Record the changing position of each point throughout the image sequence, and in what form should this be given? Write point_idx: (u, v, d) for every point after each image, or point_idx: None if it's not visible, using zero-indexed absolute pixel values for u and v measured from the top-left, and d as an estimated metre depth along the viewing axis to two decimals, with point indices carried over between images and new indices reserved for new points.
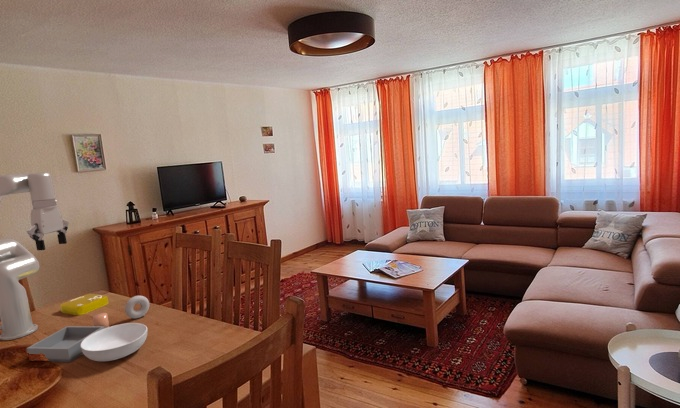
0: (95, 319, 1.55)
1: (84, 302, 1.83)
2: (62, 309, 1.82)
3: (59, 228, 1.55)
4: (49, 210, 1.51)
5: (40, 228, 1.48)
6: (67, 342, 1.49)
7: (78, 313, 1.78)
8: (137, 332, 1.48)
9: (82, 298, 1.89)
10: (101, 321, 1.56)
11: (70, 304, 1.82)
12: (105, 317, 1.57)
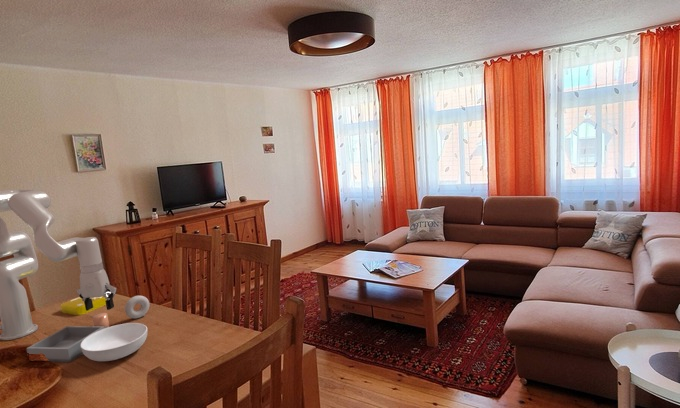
0: (95, 319, 1.55)
1: None
2: (62, 309, 1.82)
3: None
4: None
5: None
6: (67, 342, 1.49)
7: (78, 313, 1.78)
8: (137, 332, 1.48)
9: None
10: (101, 321, 1.56)
11: (70, 304, 1.82)
12: (105, 317, 1.57)
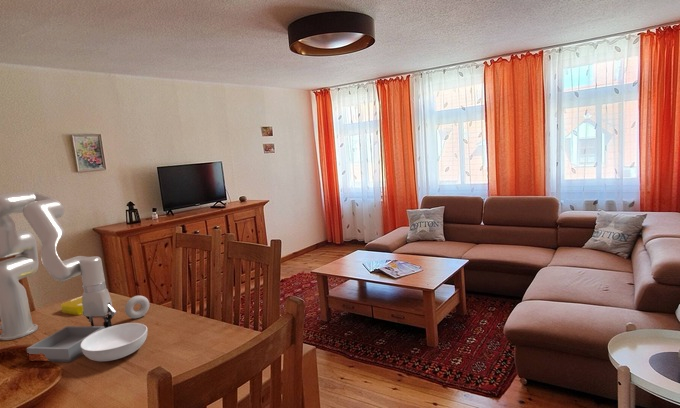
0: (95, 319, 1.55)
1: None
2: (63, 309, 1.83)
3: None
4: None
5: None
6: (67, 342, 1.49)
7: (78, 313, 1.78)
8: (137, 332, 1.48)
9: None
10: (101, 321, 1.56)
11: (70, 304, 1.82)
12: None
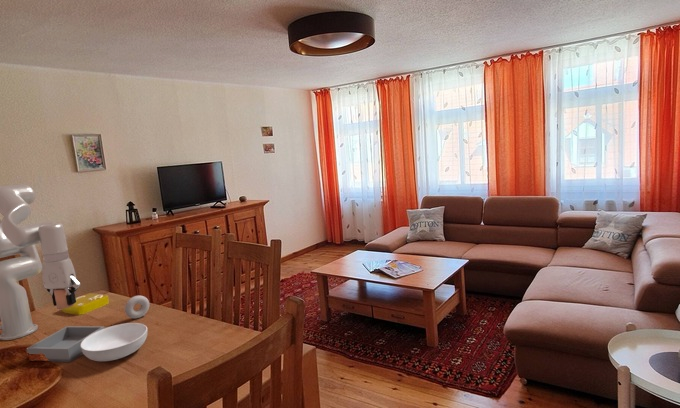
0: (57, 292, 1.41)
1: (85, 301, 1.84)
2: None
3: None
4: None
5: (75, 277, 1.44)
6: (67, 342, 1.49)
7: (78, 312, 1.79)
8: (137, 332, 1.48)
9: (83, 297, 1.90)
10: (63, 294, 1.42)
11: None
12: None
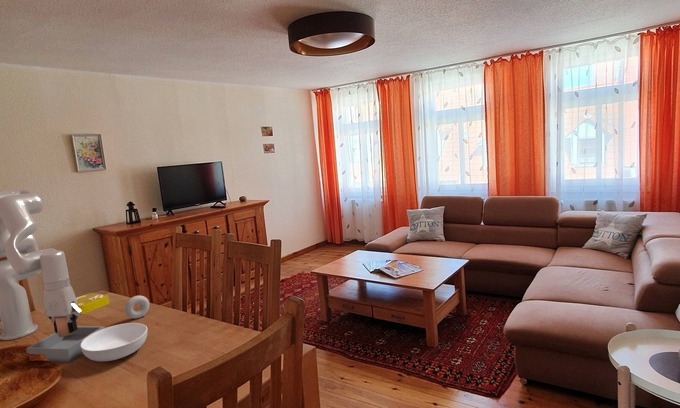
0: (58, 320, 1.41)
1: (85, 301, 1.84)
2: None
3: None
4: None
5: (77, 305, 1.44)
6: (67, 342, 1.49)
7: None
8: (137, 332, 1.48)
9: (83, 297, 1.90)
10: (64, 321, 1.42)
11: None
12: None
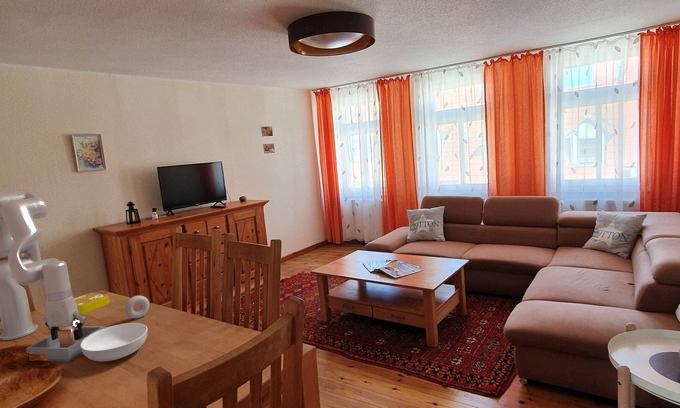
0: (60, 334, 1.42)
1: (85, 301, 1.84)
2: None
3: None
4: None
5: None
6: None
7: (79, 312, 1.79)
8: (137, 332, 1.48)
9: (83, 297, 1.90)
10: (67, 335, 1.43)
11: None
12: (71, 331, 1.44)
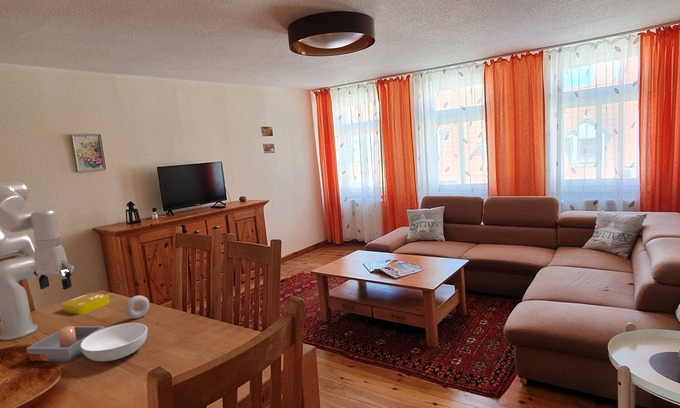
0: (60, 334, 1.42)
1: (85, 301, 1.84)
2: (64, 308, 1.84)
3: None
4: None
5: None
6: None
7: (79, 312, 1.79)
8: (137, 332, 1.48)
9: (84, 297, 1.90)
10: (67, 335, 1.43)
11: (71, 303, 1.83)
12: (71, 331, 1.44)
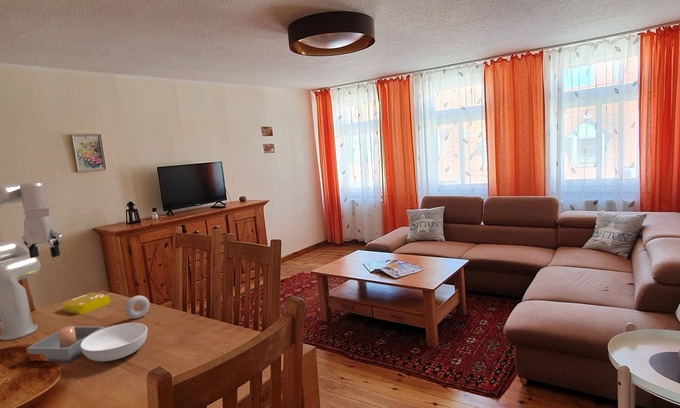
0: (60, 334, 1.42)
1: (85, 301, 1.85)
2: (64, 307, 1.84)
3: None
4: None
5: None
6: None
7: (79, 312, 1.80)
8: (137, 332, 1.48)
9: (84, 297, 1.91)
10: (67, 335, 1.43)
11: (72, 303, 1.84)
12: (71, 331, 1.44)
